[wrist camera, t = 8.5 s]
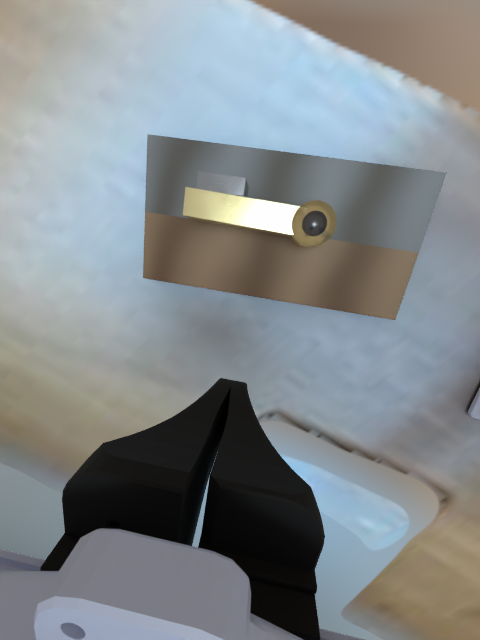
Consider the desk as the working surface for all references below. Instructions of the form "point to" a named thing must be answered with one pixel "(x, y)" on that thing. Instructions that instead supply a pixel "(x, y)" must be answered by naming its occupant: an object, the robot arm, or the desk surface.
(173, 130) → the desk surface
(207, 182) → the block
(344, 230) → the board
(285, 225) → the lock bar
